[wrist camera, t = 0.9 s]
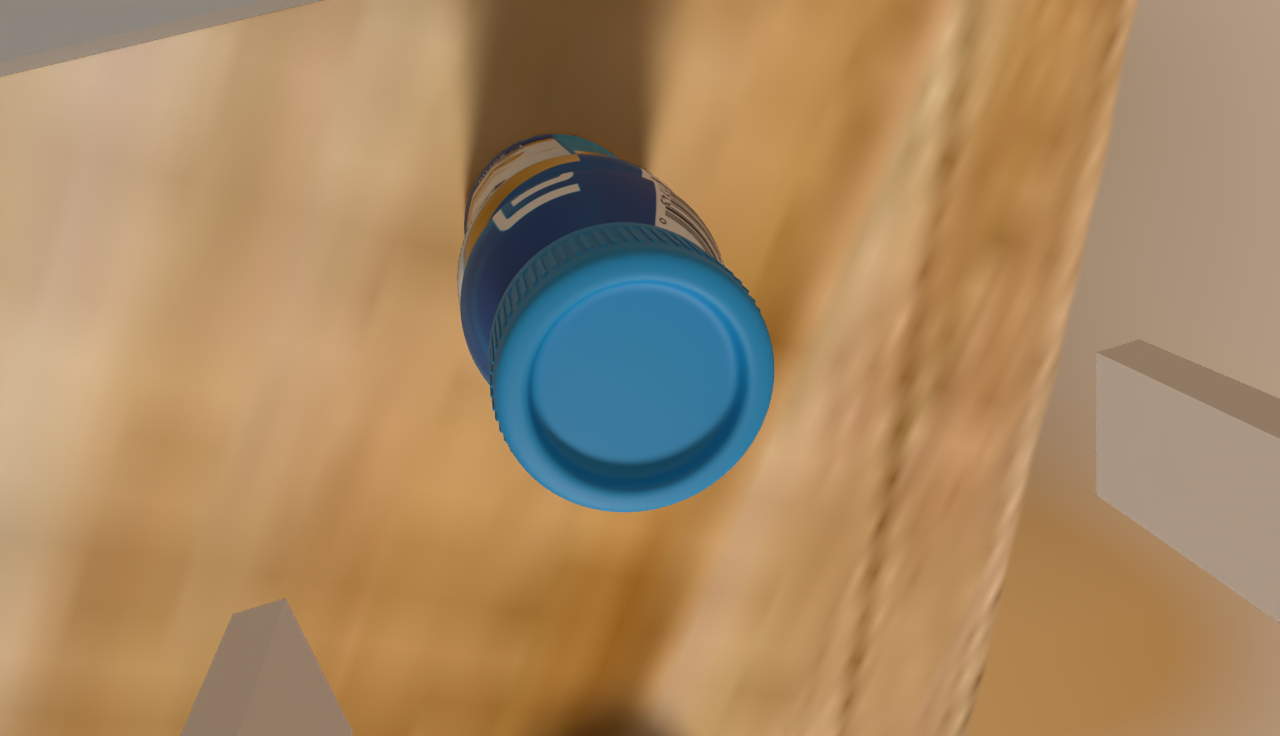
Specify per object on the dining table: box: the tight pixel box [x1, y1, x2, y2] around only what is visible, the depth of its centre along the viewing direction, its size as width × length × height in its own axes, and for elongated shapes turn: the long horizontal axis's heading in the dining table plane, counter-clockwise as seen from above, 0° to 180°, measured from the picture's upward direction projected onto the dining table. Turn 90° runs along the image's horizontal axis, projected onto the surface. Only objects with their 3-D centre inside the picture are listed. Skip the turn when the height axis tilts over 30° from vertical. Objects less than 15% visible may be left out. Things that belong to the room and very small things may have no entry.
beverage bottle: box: [457, 134, 774, 512], centre depth 27 cm, size 8×8×20 cm
